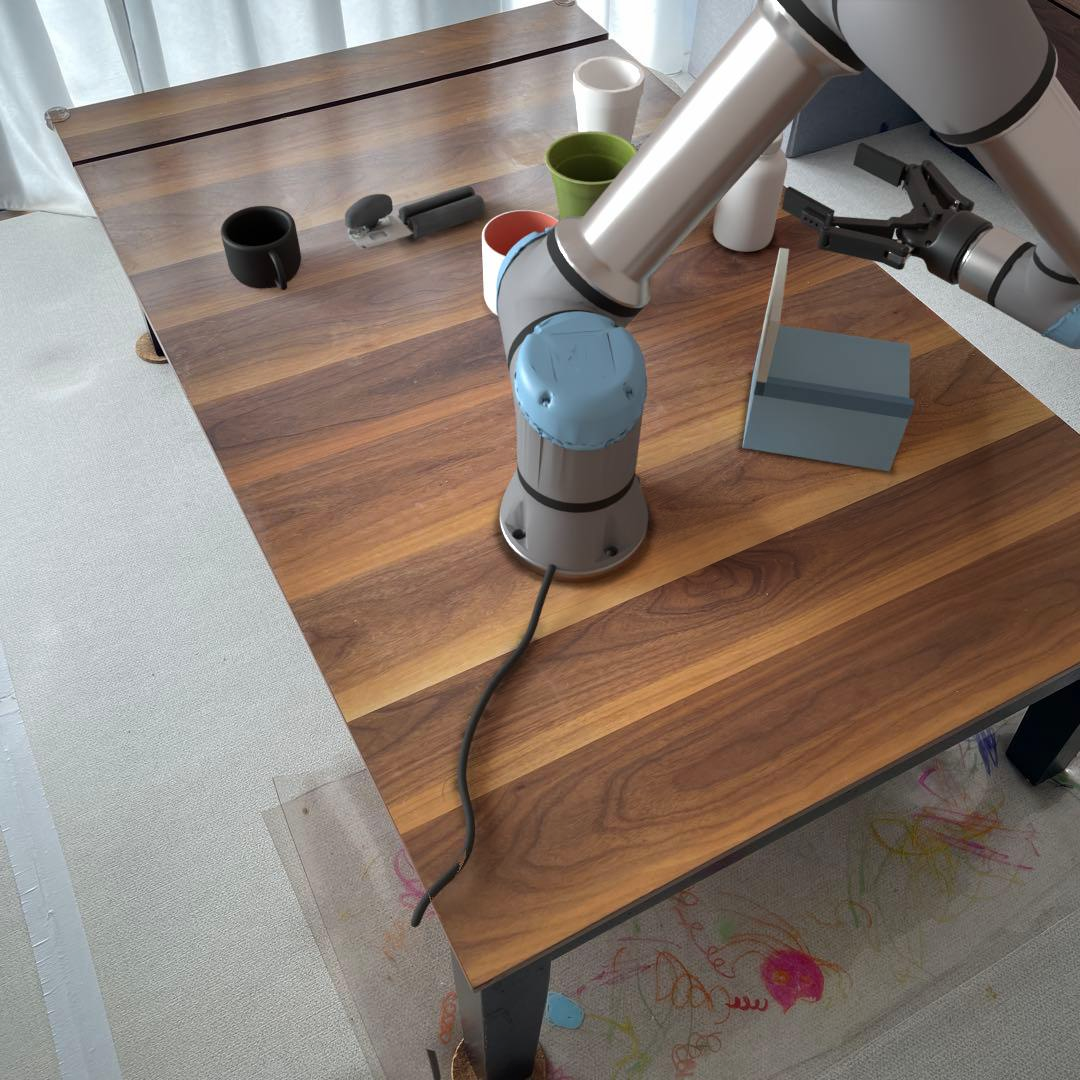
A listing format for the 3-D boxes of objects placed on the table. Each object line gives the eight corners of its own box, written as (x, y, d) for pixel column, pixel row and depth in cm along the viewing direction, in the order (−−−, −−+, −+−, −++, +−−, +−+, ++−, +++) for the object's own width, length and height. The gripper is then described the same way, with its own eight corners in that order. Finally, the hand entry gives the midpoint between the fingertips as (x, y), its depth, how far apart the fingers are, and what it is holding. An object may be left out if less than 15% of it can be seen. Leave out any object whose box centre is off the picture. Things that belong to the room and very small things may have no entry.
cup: (556, 333, 135) (558, 265, 127) (475, 322, 136) (472, 254, 128) (571, 283, 141) (574, 215, 133) (494, 272, 142) (492, 204, 134)
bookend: (889, 472, 121) (937, 344, 107) (742, 448, 123) (769, 320, 109) (891, 397, 128) (936, 269, 114) (752, 375, 130) (779, 247, 116)
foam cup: (648, 156, 159) (657, 69, 149) (616, 187, 154) (622, 99, 144) (591, 136, 162) (596, 49, 152) (558, 166, 157) (560, 78, 147)
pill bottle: (784, 235, 148) (806, 131, 136) (748, 261, 144) (768, 157, 132) (736, 210, 151) (753, 107, 140) (699, 236, 147) (714, 132, 136)
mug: (222, 264, 143) (210, 217, 137) (288, 244, 145) (279, 197, 140) (254, 318, 136) (242, 270, 130) (323, 296, 139) (315, 248, 133)
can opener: (360, 263, 143) (354, 221, 138) (343, 243, 146) (337, 201, 141) (488, 218, 149) (487, 176, 144) (470, 200, 152) (468, 158, 147)
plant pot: (587, 195, 153) (590, 120, 144) (651, 233, 148) (659, 157, 139) (525, 231, 148) (524, 155, 139) (589, 271, 142) (593, 195, 134)
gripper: (899, 333, 120) (748, 244, 130) (1026, 238, 131) (878, 163, 141) (917, 276, 114) (758, 188, 124) (1049, 182, 125) (893, 108, 135)
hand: (822, 174), depth 132 cm, fingers open, 13 cm apart
